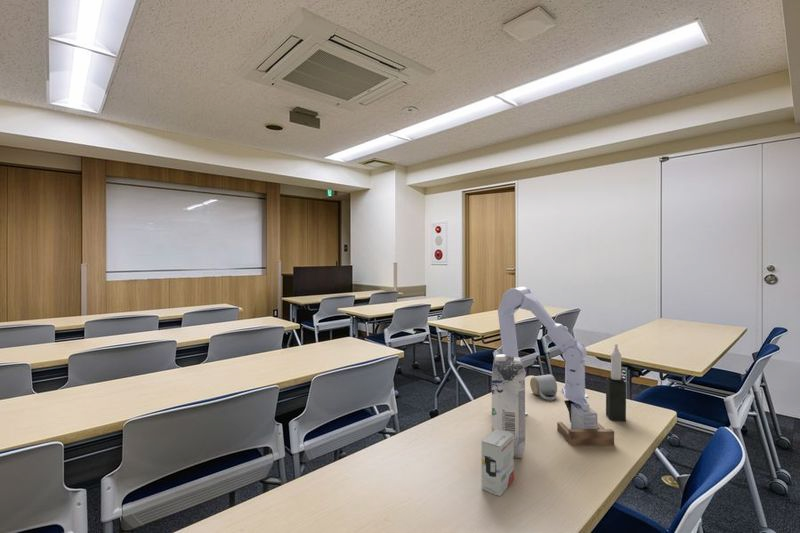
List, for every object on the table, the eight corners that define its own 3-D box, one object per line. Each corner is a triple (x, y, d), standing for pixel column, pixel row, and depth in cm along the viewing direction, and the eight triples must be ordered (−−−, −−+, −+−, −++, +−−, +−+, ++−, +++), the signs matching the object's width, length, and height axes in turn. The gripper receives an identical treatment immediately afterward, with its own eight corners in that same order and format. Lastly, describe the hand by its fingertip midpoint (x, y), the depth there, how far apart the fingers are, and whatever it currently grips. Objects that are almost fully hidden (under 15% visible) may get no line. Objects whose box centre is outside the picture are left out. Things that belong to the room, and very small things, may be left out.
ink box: (496, 472, 95) (496, 426, 95) (514, 479, 92) (514, 432, 92) (480, 489, 88) (480, 440, 88) (500, 497, 85) (499, 446, 85)
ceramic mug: (528, 391, 151) (528, 372, 150) (548, 390, 152) (548, 371, 151) (541, 402, 140) (541, 382, 140) (562, 400, 141) (562, 381, 141)
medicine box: (598, 442, 109) (598, 413, 109) (583, 442, 109) (583, 413, 109) (584, 429, 117) (584, 402, 117) (570, 430, 117) (570, 402, 117)
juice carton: (523, 442, 110) (523, 351, 109) (525, 461, 100) (525, 361, 99) (492, 438, 112) (492, 349, 111) (491, 457, 102) (491, 359, 101)
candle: (627, 421, 123) (627, 346, 122) (610, 420, 124) (610, 345, 123) (621, 415, 128) (621, 342, 127) (604, 413, 129) (605, 342, 128)
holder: (570, 445, 108) (571, 431, 108) (557, 429, 117) (557, 417, 117) (614, 445, 108) (614, 431, 108) (597, 429, 117) (597, 417, 117)
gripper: (599, 389, 111) (599, 434, 112) (576, 374, 126) (576, 413, 126) (576, 390, 111) (575, 434, 112) (555, 374, 126) (555, 414, 126)
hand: (574, 423), depth 119 cm, fingers closed
